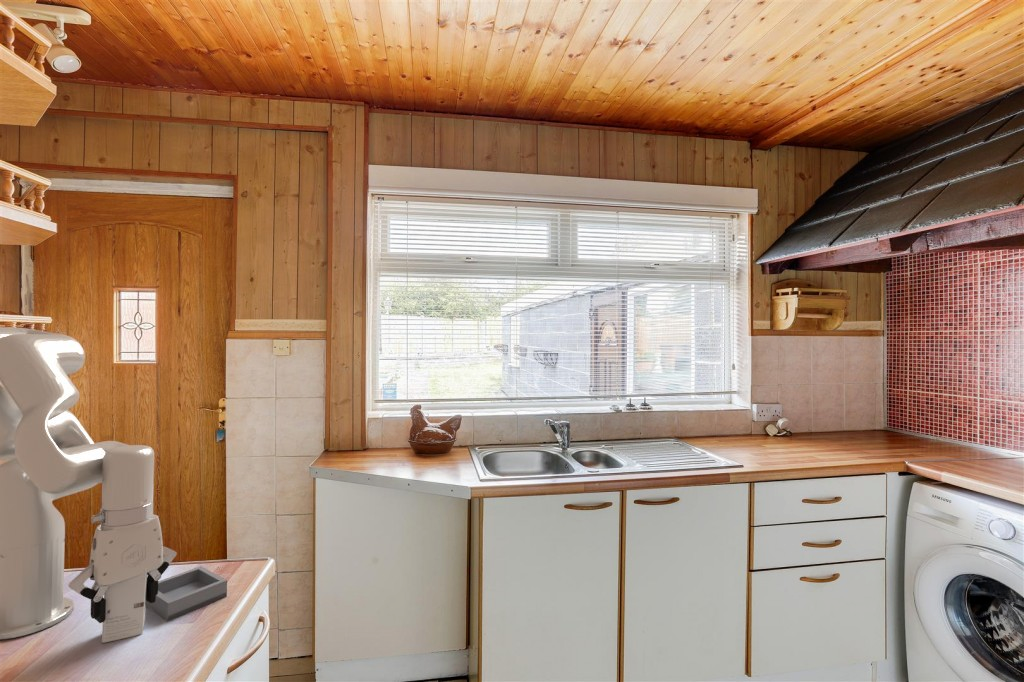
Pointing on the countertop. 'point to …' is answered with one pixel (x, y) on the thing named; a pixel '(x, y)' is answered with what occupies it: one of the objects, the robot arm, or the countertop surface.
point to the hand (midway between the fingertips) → (125, 609)
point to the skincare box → (125, 609)
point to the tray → (187, 592)
